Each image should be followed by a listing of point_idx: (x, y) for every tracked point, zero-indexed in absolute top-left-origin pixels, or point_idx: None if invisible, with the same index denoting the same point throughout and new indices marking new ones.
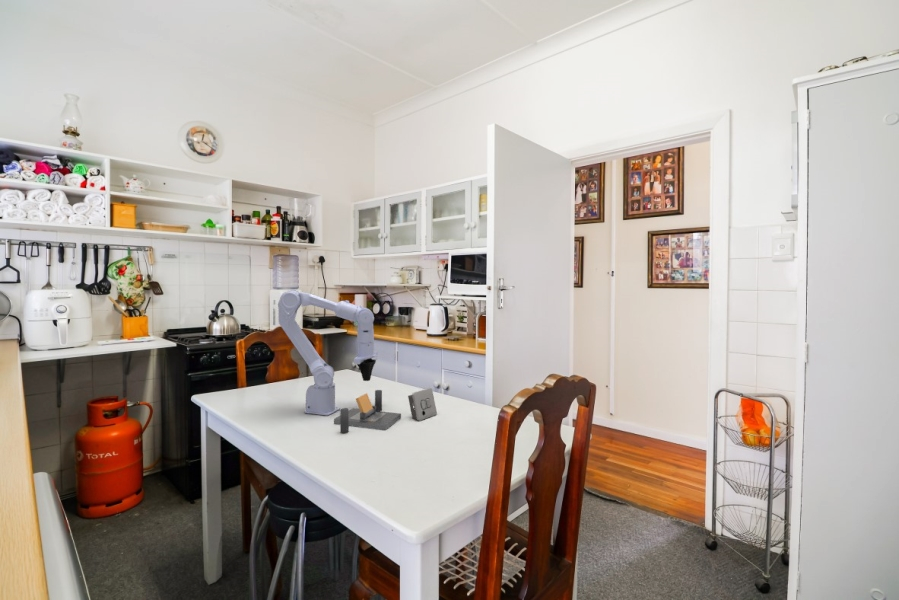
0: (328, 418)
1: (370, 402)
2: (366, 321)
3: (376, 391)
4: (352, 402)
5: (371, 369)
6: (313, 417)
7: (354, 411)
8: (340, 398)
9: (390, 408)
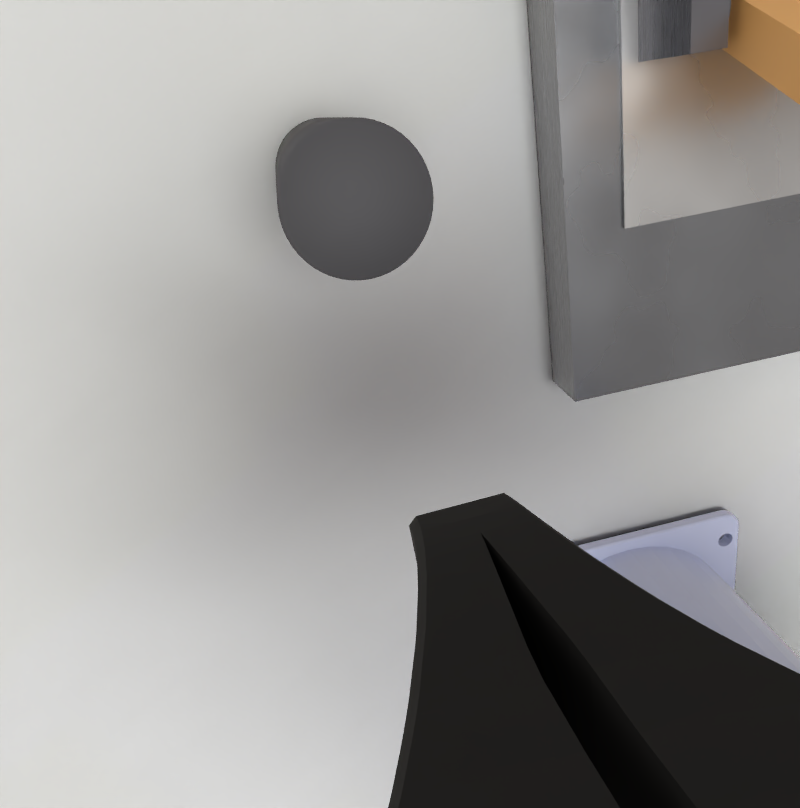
0: (783, 455)
1: (797, 30)
2: None
3: (429, 204)
4: (238, 634)
5: (530, 733)
6: (790, 572)
7: (680, 298)
8: (199, 803)
9: (143, 57)
